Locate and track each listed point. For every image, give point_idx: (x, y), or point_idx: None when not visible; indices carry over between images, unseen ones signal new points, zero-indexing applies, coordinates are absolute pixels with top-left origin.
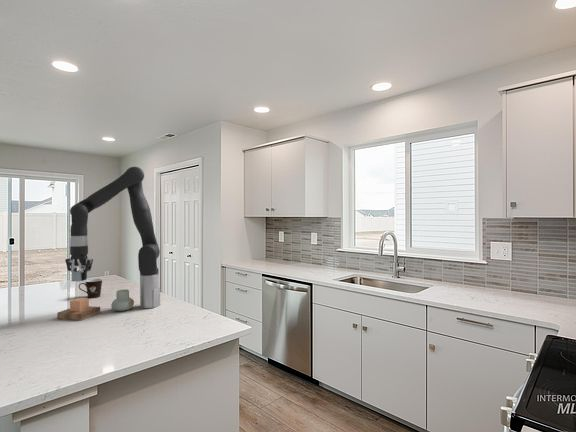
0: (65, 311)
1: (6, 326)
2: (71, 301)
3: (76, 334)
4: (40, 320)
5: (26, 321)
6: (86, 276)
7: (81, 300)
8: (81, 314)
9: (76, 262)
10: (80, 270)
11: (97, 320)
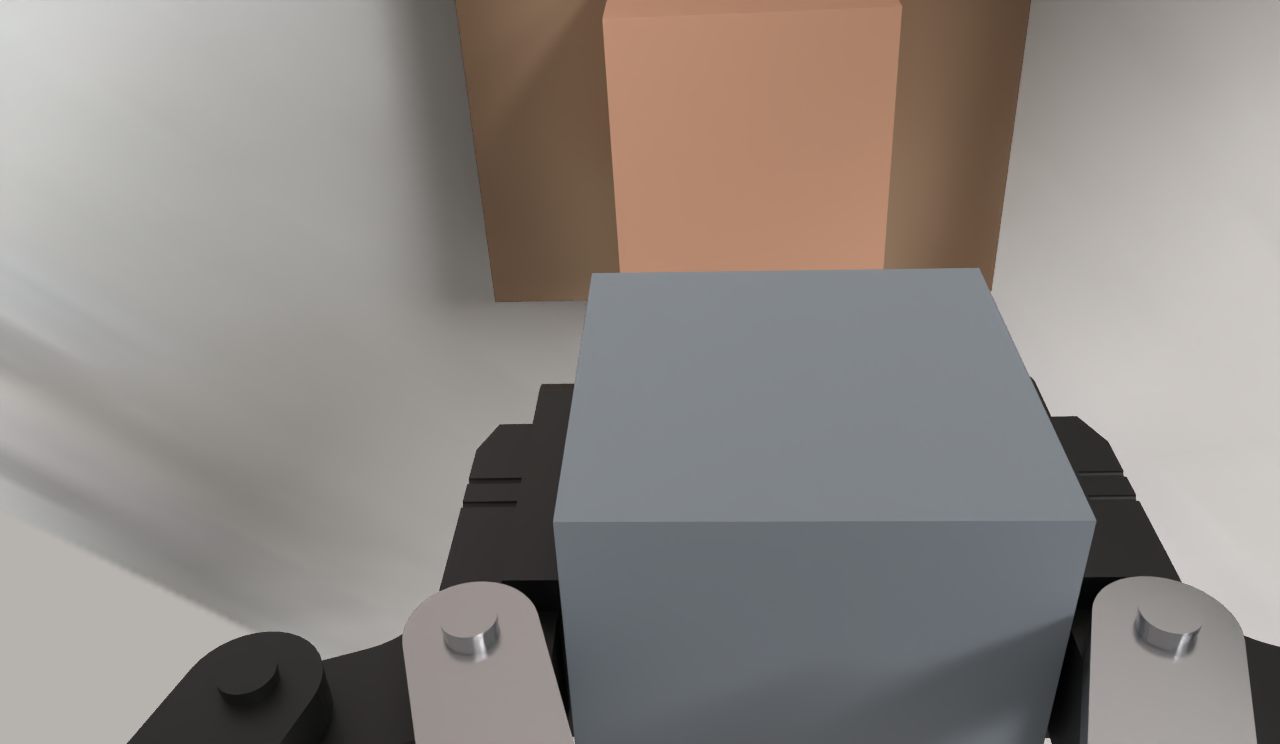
0: (572, 222)
1: (175, 579)
2: (661, 271)
3: (1267, 632)
4: (326, 347)
5: (184, 412)
6: (1122, 486)
7: (869, 212)
8: (990, 282)
9: None
10: (679, 541)
11: (1248, 181)
